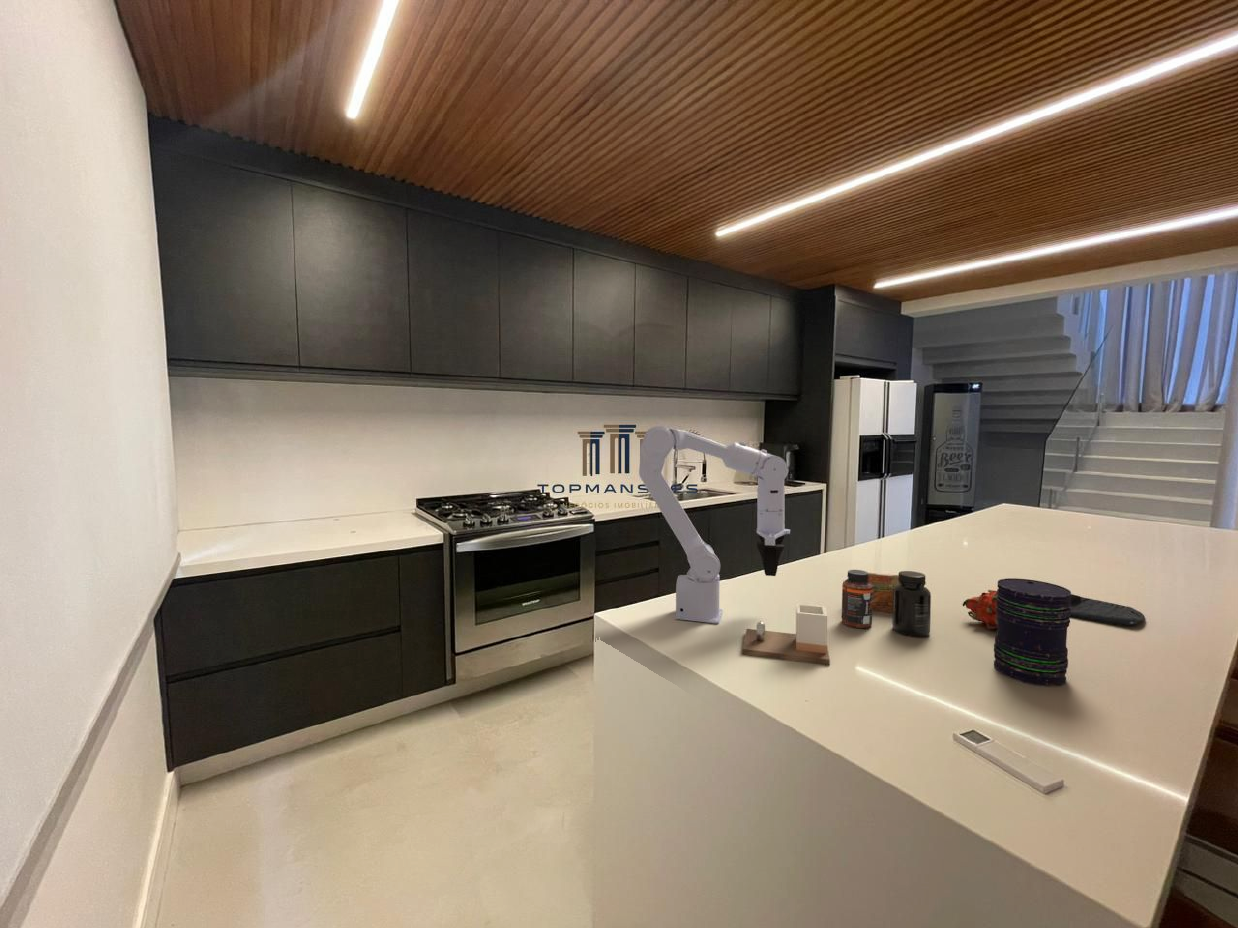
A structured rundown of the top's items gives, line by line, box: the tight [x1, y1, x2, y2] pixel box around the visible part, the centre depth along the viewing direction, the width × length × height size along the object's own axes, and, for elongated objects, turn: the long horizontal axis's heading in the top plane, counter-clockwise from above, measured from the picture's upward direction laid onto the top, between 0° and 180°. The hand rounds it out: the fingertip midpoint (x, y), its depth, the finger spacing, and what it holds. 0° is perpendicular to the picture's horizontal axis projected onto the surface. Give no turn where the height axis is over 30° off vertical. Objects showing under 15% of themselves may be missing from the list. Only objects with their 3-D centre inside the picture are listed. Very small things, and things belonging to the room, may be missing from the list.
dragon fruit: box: [962, 589, 998, 631], centre depth 106 cm, size 8×8×12 cm
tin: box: [868, 572, 899, 614], centre depth 117 cm, size 15×3×8 cm, turn 68°
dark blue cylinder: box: [993, 577, 1072, 688], centre depth 87 cm, size 10×10×15 cm
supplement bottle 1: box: [841, 569, 874, 629], centre depth 109 cm, size 6×6×11 cm
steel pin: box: [756, 621, 766, 642], centre depth 99 cm, size 2×2×4 cm
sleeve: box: [795, 603, 828, 654], centre depth 96 cm, size 5×5×7 cm
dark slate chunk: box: [1070, 593, 1146, 627], centre depth 116 cm, size 15×22×5 cm
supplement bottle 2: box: [891, 570, 932, 638], centre depth 105 cm, size 7×7×12 cm
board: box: [742, 628, 831, 666], centre depth 98 cm, size 15×10×1 cm, turn 72°
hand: (771, 570), depth 113 cm, fingers open, 7 cm apart
